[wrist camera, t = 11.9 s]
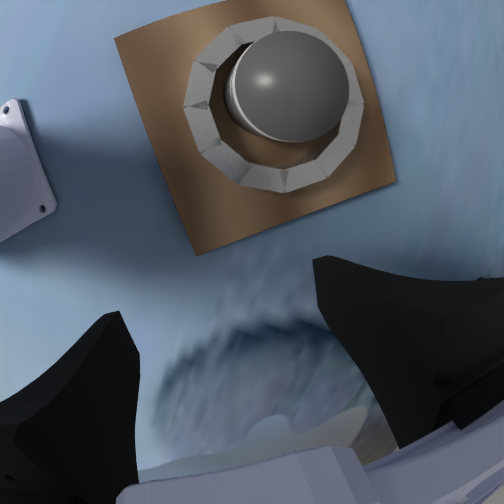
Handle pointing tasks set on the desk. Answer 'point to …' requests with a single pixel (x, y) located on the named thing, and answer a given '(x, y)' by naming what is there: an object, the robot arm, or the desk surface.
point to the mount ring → (232, 164)
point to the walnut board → (243, 143)
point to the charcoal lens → (287, 88)
